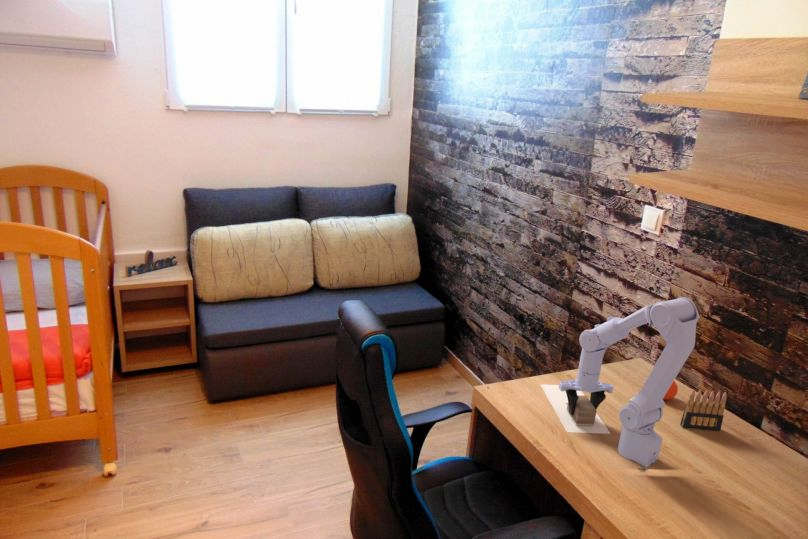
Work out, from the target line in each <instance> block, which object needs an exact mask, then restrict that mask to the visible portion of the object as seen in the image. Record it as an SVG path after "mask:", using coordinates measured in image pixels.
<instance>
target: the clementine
mask: <svg viewBox="0 0 808 539" xmlns="http://www.w3.org/2000/svg"><path fill="white" fill-rule="evenodd" d="M678 390H679V388H678V384H677V382H676V381H675V380H674V381H673V383H672V385H671V386H670V388H669V390H668V391H667V393H666V395H665V396H664V398H663V400H671V399H673V398H675V397H676V395H677V393H678Z"/></svg>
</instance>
